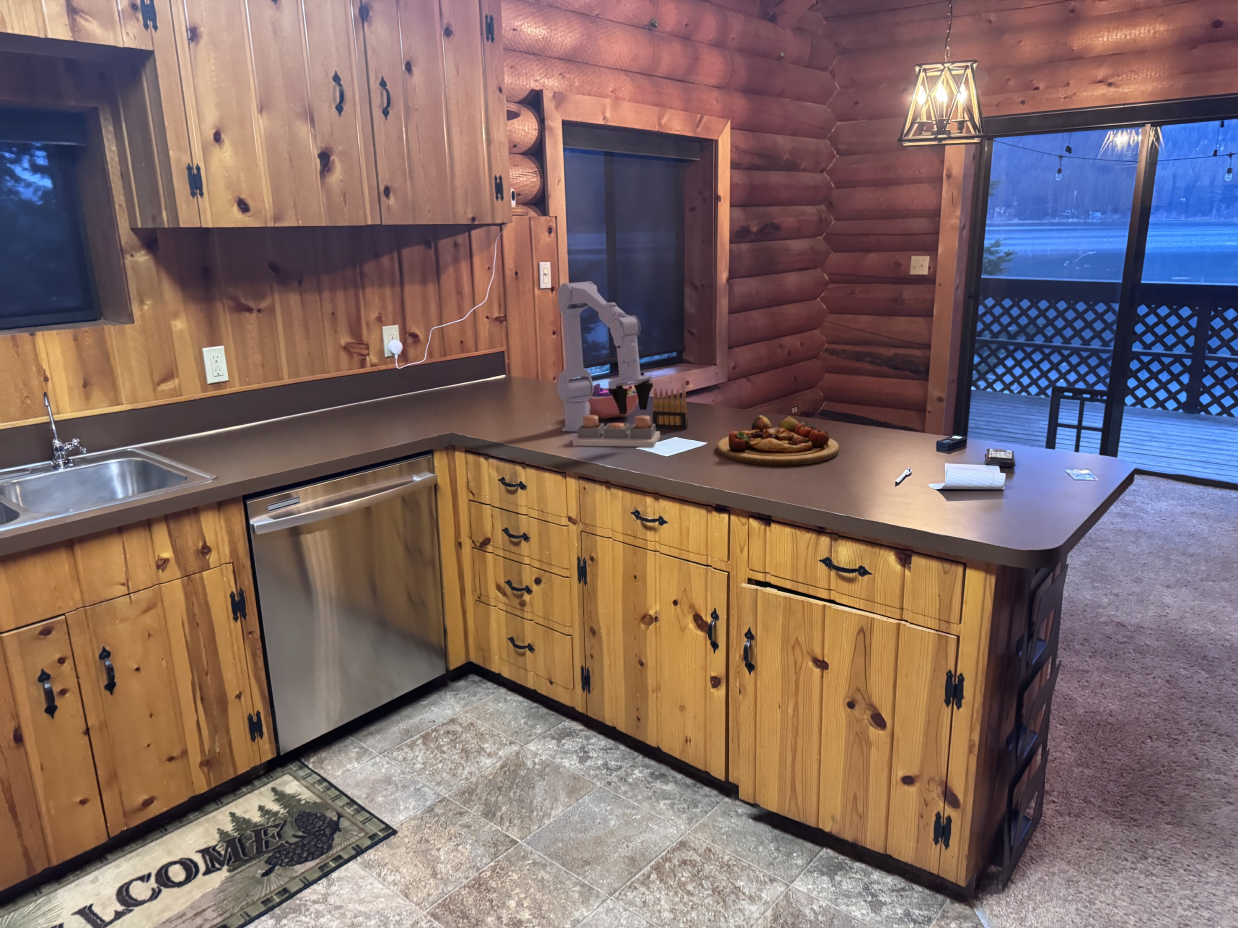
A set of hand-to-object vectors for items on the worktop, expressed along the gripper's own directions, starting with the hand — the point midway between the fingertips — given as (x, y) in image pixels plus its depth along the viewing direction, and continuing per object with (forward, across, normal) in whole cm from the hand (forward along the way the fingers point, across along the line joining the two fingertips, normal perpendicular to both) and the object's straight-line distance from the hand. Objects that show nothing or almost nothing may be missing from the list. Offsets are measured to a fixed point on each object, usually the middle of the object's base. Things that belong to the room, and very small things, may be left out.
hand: (633, 411), depth 234 cm
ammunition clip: (+9, +24, +10) cm, 27 cm away
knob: (+6, +7, +4) cm, 10 cm away
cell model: (+6, +22, +34) cm, 41 cm away
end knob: (+5, -2, +16) cm, 17 cm away
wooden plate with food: (+14, +22, -30) cm, 40 cm away
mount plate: (+9, +2, +11) cm, 14 cm away
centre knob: (+7, +2, +10) cm, 13 cm away
